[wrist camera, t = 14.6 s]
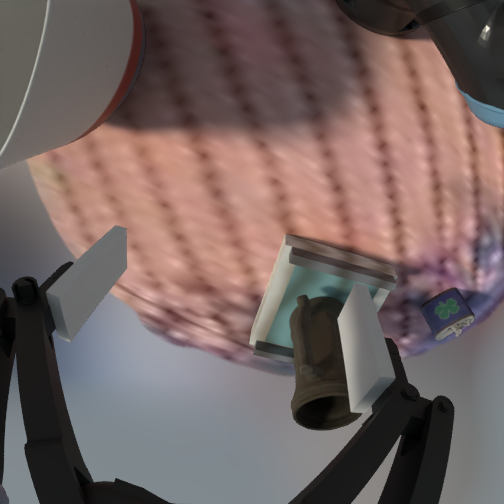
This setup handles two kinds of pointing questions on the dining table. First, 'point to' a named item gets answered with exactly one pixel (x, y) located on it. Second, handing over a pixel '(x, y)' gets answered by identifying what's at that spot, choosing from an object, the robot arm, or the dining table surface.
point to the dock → (311, 289)
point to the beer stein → (319, 365)
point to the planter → (63, 70)
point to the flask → (447, 313)
